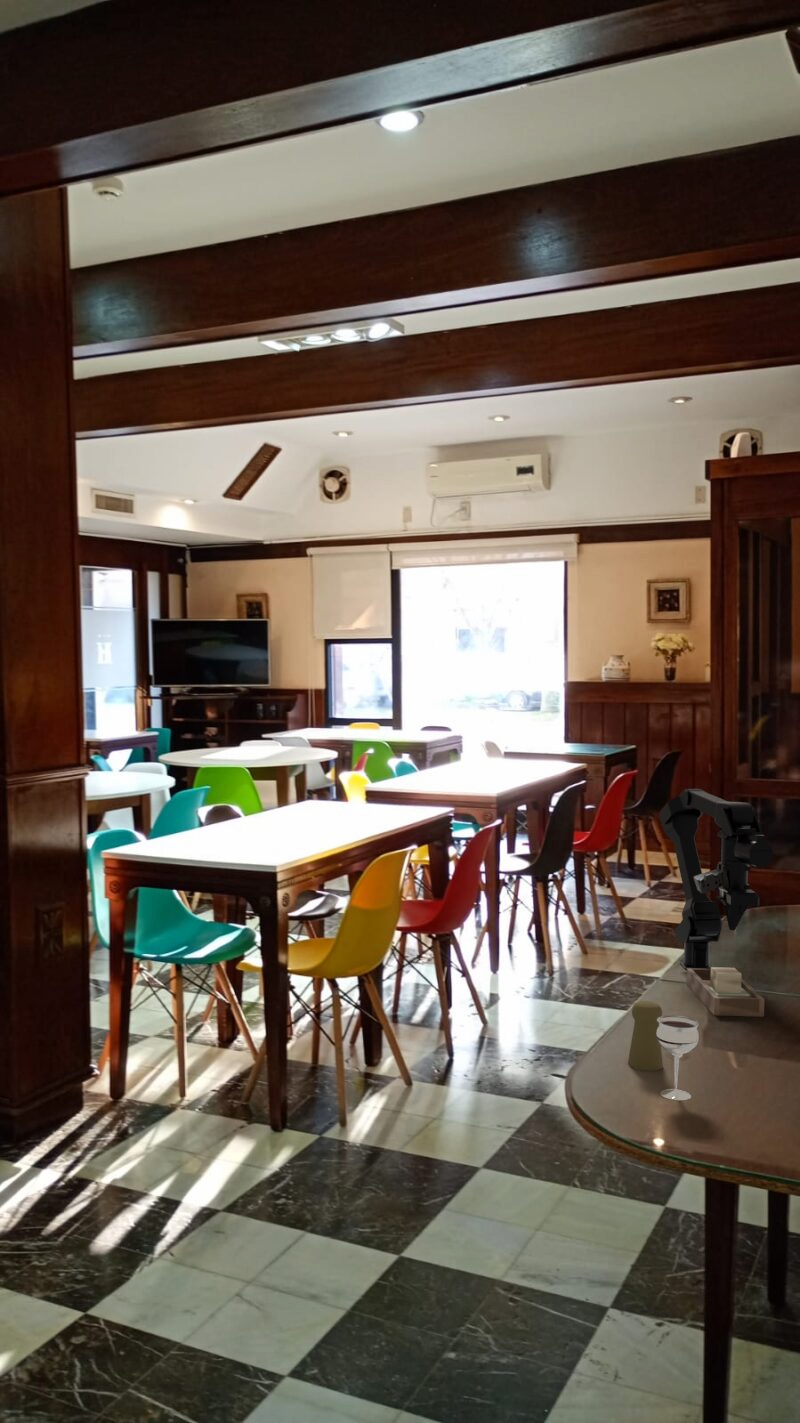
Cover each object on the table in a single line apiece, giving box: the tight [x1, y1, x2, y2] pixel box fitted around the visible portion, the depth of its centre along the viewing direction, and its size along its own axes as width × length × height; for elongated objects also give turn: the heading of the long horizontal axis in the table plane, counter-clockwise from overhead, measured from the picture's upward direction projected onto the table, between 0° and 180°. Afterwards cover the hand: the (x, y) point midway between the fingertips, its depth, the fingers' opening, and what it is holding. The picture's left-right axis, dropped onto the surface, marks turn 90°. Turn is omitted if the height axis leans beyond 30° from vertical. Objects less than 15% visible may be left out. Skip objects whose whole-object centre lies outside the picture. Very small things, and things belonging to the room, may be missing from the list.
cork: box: [627, 1000, 664, 1072], centre depth 202 cm, size 6×6×11 cm
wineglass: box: [656, 1015, 700, 1101], centre depth 188 cm, size 7×7×12 cm
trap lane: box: [685, 968, 765, 1017], centre depth 243 cm, size 23×10×4 cm, turn 0°
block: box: [710, 966, 743, 993], centre depth 242 cm, size 5×5×4 cm
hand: (732, 929), depth 256 cm, fingers closed
